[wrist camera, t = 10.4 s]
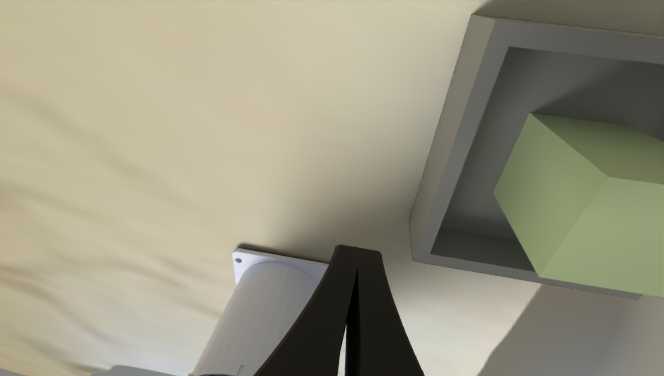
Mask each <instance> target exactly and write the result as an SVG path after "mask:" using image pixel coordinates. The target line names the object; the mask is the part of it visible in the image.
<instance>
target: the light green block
mask: <svg viewBox="0 0 664 376" xmlns="http://www.w3.org/2000/svg"><path fill="white" fill-rule="evenodd" d="M493 194H494V196H495V198H496V199H497V201H498V203H499V205H500V207H501V209H502V210H503V212H504V214H505V216H506V218H507V220H508V221H509V223H510V225H511V227H512V229H513V231H514V232H515V234H516V236H517V238H518V240H519V242H520V243H521V245H522V247H523V249H524V251H525V253H526V254H527V256H528V258H529V260H530V262H531V263H532V265H533V267H534V269H535V271H536V273H537V274H538V276H539V277H542V278H548V279H554V280H560V281H566V282H572V283H578V284H584V285H590V286H596V287H602V288H608V289H614V290H620V291H626V292H632V293H638V294H644V295H650V296H656V297H662V298H664V142H663V141H661V140H659V139H657V138H655V137H653V136H651V135H649V134H647V133H645V132H644V131H642V130H640V129H638V128H636V127H634V126H630V125H622V124H614V123H606V122H598V121H590V120H582V119H574V118H566V117H558V116H550V115H542V114H535V113H529V115H528V118H527V120H526V122H525V124H524V126H523V128H522V131H521V133H520V135H519V137H518V139H517V141H516V144H515V146H514V148H513V150H512V152H511V154H510V157H509V159H508V161H507V163H506V165H505V167H504V170H503V172H502V174H501V176H500V178H499V180H498V183H497V185H496V187H495V189H494V191H493Z"/></svg>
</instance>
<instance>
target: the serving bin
mask: <svg viewBox="0 0 664 376" xmlns="http://www.w3.org/2000/svg"><path fill="white" fill-rule="evenodd" d="M529 113H535V114H542V115H550V116H558V117H566V118H574V119H582V120H590V121H598V122H606V123H614V124H622V125H630V126H634V127H636V128H638V129H640V130H642V131H644V132H645V133H647V134H649V135H651V136H653V137H655V138H657V139H659V140H661V141H663V142H664V36H661V35H652V34H643V33H634V32H624V31H615V30H606V29H597V28H588V27H579V26H570V25H561V24H552V23H543V22H534V21H525V20H516V19H507V18H498V17H489V16H480V15H471V17H470V20H469V24H468V27H467V30H466V34H465V37H464V40H463V43H462V47H461V50H460V53H459V57H458V60H457V63H456V67H455V70H454V73H453V77H452V80H451V83H450V87H449V90H448V93H447V97H446V100H445V103H444V107H443V110H442V113H441V117H440V120H439V123H438V127H437V130H436V133H435V137H434V140H433V143H432V146H431V150H430V153H429V156H428V160H427V163H426V166H425V170H424V173H423V176H422V180H421V183H420V186H419V190H418V193H417V196H416V200H415V203H414V206H413V210H412V213H411V216H410V220H409V230H410V239H411V248H412V258H413V261H415V262H421V263H426V264H432V265H438V266H444V267H450V268H455V269H461V270H467V271H473V272H479V273H485V274H490V275H496V276H502V277H508V278H514V279H519V280H525V281H531V282H537V283H543V284H549V285H554V286H560V287H566V288H572V289H578V290H584V291H589V292H595V293H601V294H607V295H612V296H618V297H624V298H630V299H636V300H637V299H639V297H641V296H642V295H643V294H638V293H632V292H626V291H620V290H614V289H608V288H602V287H596V286H590V285H584V284H578V283H572V282H566V281H560V280H554V279H548V278H542V277H539V276H538V274H537V273H536V271H535V269H534V267H533V265H532V263H531V262H530V260H529V258H528V256H527V254H526V253H525V251H524V249H523V247H522V245H521V243H520V242H519V240H518V238H517V236H516V234H515V232H514V231H513V229H512V227H511V225H510V223H509V221H508V220H507V218H506V216H505V214H504V212H503V210H502V209H501V207H500V205H499V203H498V201H497V199H496V198H495V196H494V194H493V191H494V189H495V187H496V185H497V183H498V180H499V178H500V176H501V174H502V172H503V170H504V167H505V165H506V163H507V161H508V159H509V157H510V154H511V152H512V150H513V148H514V146H515V144H516V141H517V139H518V137H519V135H520V133H521V131H522V128H523V126H524V124H525V122H526V120H527V118H528V115H529Z"/></svg>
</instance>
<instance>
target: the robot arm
mask: <svg viewBox="0 0 664 376" xmlns="http://www.w3.org/2000/svg"><path fill="white" fill-rule="evenodd" d="M232 258H233V265H234V273H235V280H236V288H235V290H234V292H233V294H232V296H231V298H230V300H229V302H228V304H227V306H226V308H225V310H224V312H223V314H222V316H221V317H220V319H219V321H218V323H217V325H216V327H215V329H214V331H213V333H212V335H211V337H210V339H209V341H208V343H207V345H206V347H205V349H204V351H203V353H202V355H201V357H200V359H199V361H198V363H197V365H196V367H195V369H194V371H193V373H192V374H191V373H190V374H189V375H188V376H337V375H338V367H339V358H340V351H341V346H342V342H343V337H344V332H345V328H346V355H345V376H425V375H424V373H423V371H422V369H421V367H420V364H419V362H418V360H417V358H416V356H415V353H414V351H413V349H412V346H411V344H410V342H409V339H408V337H407V335H406V332H405V329H404V327H403V324H402V322H401V319H400V316H399V314H398V311H397V308H396V305H395V303H394V300H393V297H392V294H391V291H390V287H389V284H388V281H387V277H386V274H385V270H384V265H383V261H382V255H381V253H380V252H379V251H374V250H369V249H363V248H357V247H351V246H345V245H338V246H336V247H335V251H334V254H333V256H332V259H331V261H330V263H329V264H326V263H320V262H314V261H309V260H303V259H297V258H292V257H286V256H280V255H275V254H269V253H263V252H258V251H252V250H246V249H241V248H236V249H235V250H234V251H233V253H232ZM346 323H347V327H346Z"/></svg>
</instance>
